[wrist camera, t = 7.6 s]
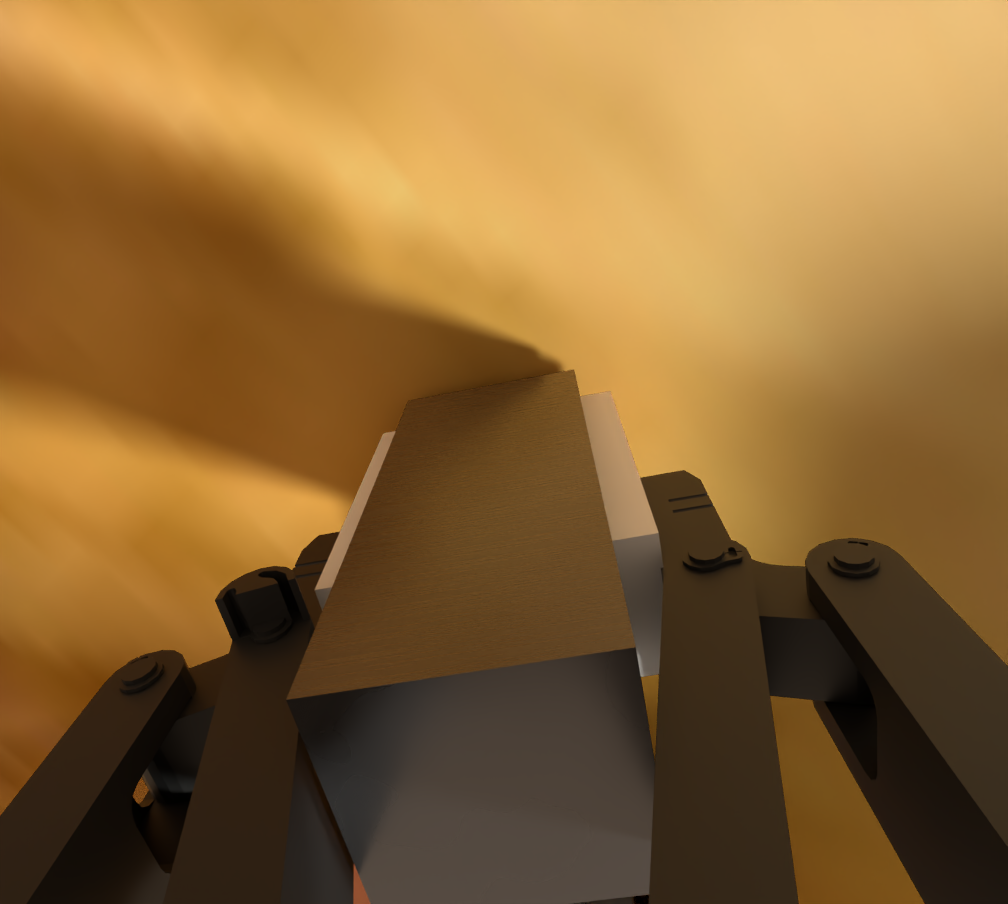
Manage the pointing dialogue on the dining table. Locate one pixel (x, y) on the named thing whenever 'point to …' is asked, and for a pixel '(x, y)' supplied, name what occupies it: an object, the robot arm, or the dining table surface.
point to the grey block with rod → (483, 666)
